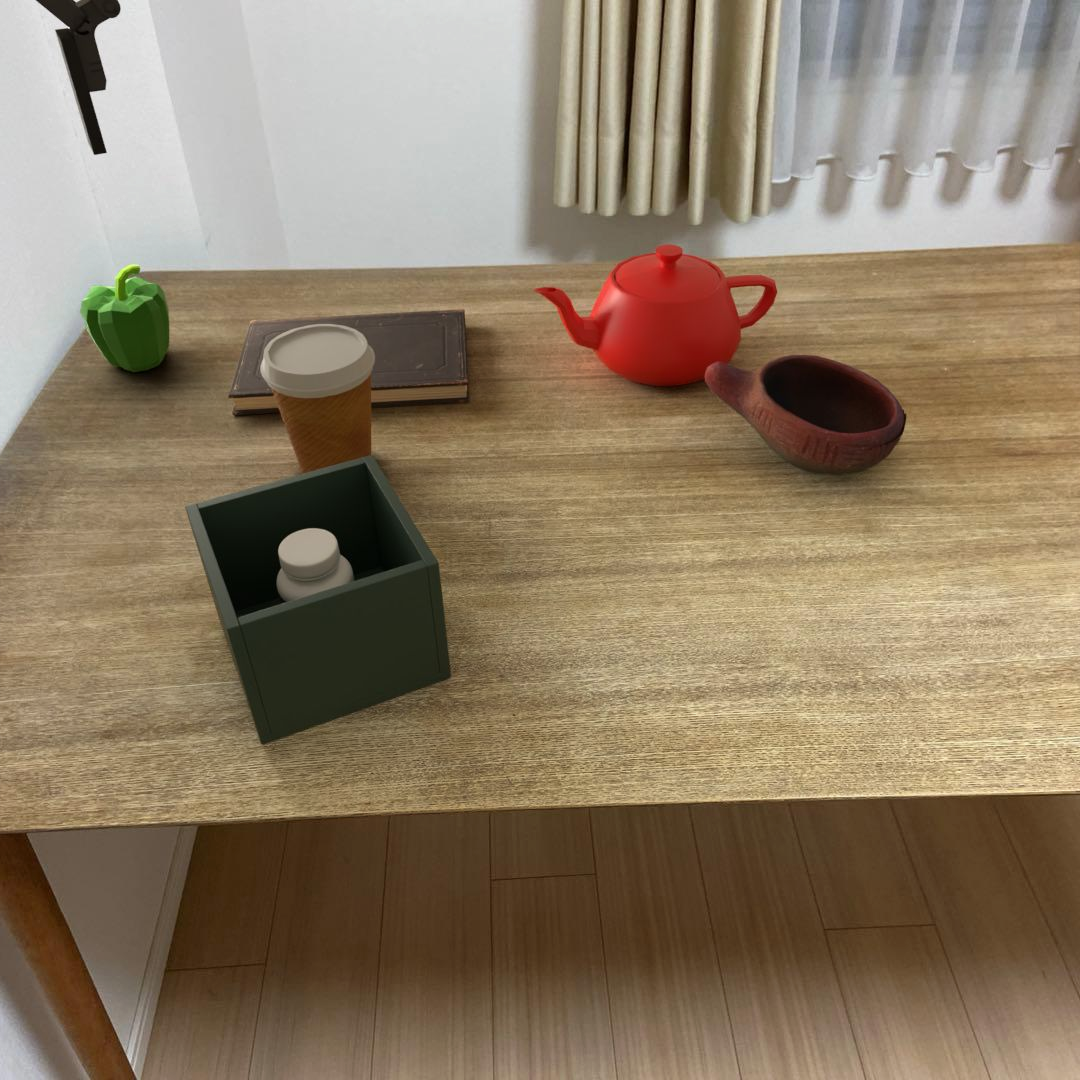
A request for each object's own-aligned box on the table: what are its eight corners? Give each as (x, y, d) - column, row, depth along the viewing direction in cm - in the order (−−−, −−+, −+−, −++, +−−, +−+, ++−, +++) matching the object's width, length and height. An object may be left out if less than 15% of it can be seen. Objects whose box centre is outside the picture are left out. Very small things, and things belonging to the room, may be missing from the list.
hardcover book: (469, 402, 100) (467, 382, 99) (233, 415, 99) (228, 395, 98) (465, 325, 113) (464, 306, 111) (255, 336, 111) (251, 317, 110)
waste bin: (261, 745, 68) (226, 629, 61) (219, 617, 77) (184, 505, 70) (451, 677, 72) (438, 562, 65) (389, 565, 82) (372, 454, 75)
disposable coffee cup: (377, 428, 97) (361, 313, 89) (399, 484, 90) (383, 365, 82) (277, 447, 95) (251, 331, 87) (290, 507, 88) (264, 386, 80)
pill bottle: (295, 616, 76) (272, 524, 70) (365, 610, 76) (348, 518, 71) (288, 668, 72) (263, 574, 66) (363, 662, 72) (344, 568, 67)
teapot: (743, 314, 113) (755, 207, 105) (796, 385, 101) (815, 271, 94) (522, 339, 110) (518, 230, 102) (551, 416, 98) (549, 299, 90)
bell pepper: (109, 389, 103) (79, 298, 97) (92, 355, 109) (62, 267, 103) (191, 366, 107) (167, 277, 100) (170, 334, 112) (146, 248, 106)
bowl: (854, 410, 98) (870, 335, 93) (917, 488, 88) (938, 409, 83) (693, 430, 96) (700, 355, 91) (739, 512, 86) (750, 433, 81)
